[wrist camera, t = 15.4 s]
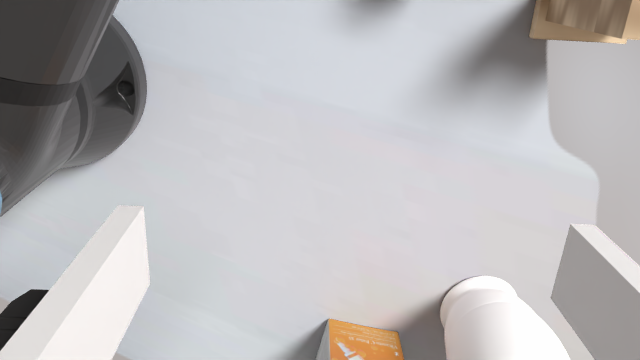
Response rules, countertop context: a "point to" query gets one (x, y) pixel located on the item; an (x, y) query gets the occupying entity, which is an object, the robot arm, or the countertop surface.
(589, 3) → the hook stand
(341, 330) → the small box
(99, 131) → the robot arm
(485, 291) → the jar
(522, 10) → the countertop surface
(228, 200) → the countertop surface
